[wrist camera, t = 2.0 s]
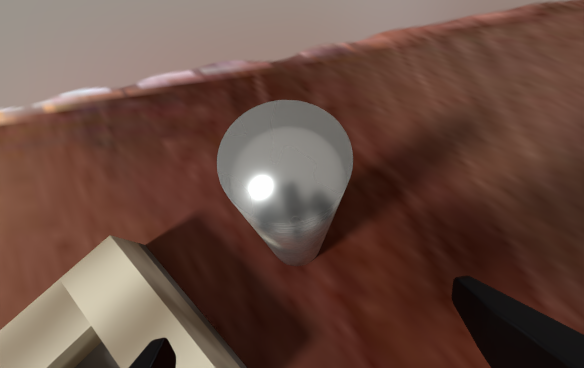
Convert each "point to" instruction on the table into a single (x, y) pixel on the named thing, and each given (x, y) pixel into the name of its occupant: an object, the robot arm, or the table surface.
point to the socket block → (112, 317)
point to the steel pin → (286, 174)
